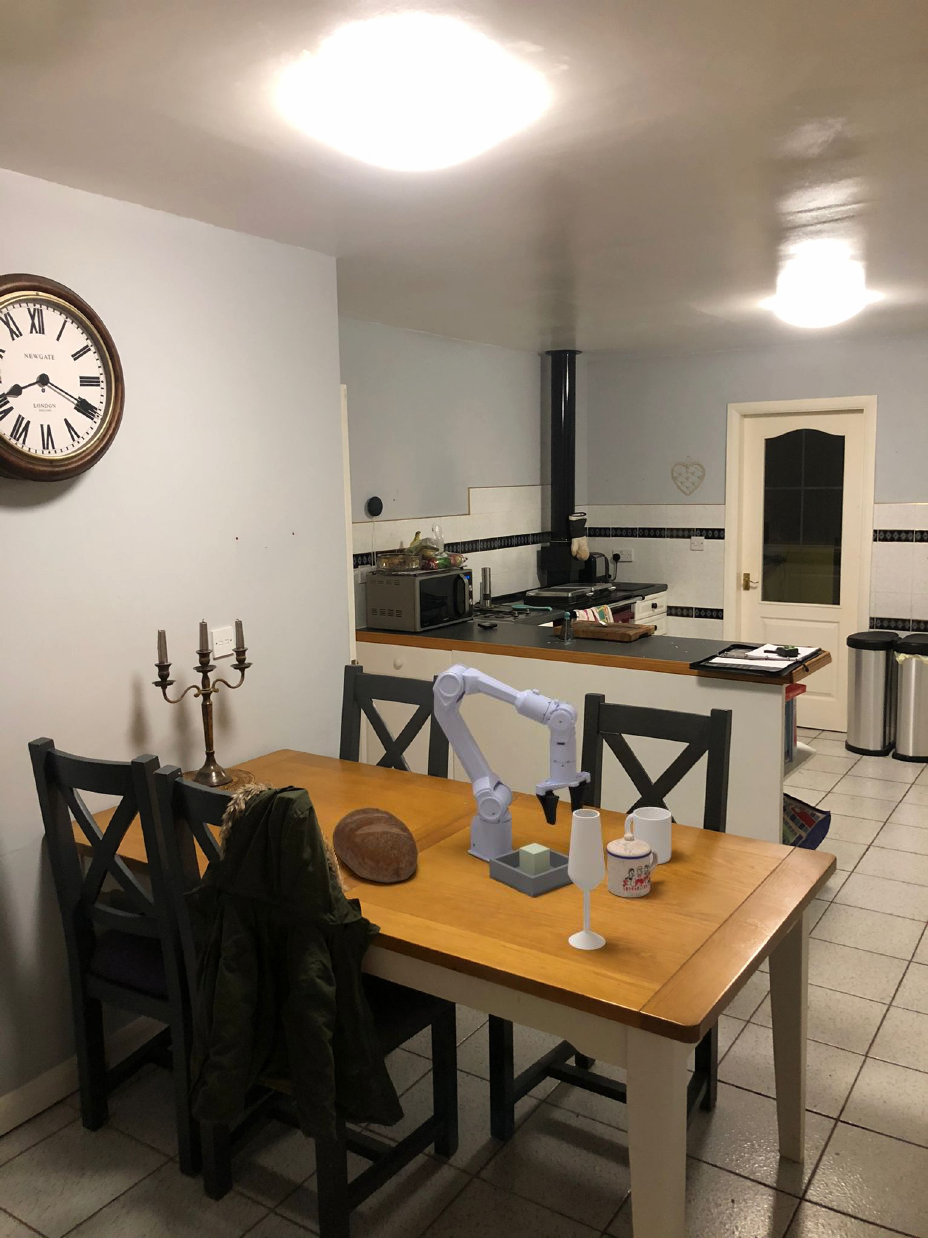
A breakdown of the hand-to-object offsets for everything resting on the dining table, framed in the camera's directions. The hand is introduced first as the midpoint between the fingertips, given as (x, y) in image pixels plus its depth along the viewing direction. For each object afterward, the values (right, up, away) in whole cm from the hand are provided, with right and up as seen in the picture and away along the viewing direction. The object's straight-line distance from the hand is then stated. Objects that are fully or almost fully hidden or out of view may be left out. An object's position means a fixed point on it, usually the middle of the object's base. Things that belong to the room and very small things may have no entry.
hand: (563, 819), depth 209 cm
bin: (-7, -11, -8) cm, 15 cm away
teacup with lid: (+13, -11, -14) cm, 22 cm away
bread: (-42, -10, +4) cm, 43 cm away
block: (-7, -10, -8) cm, 15 cm away
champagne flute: (0, -15, -36) cm, 39 cm away
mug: (+19, -9, +3) cm, 21 cm away
